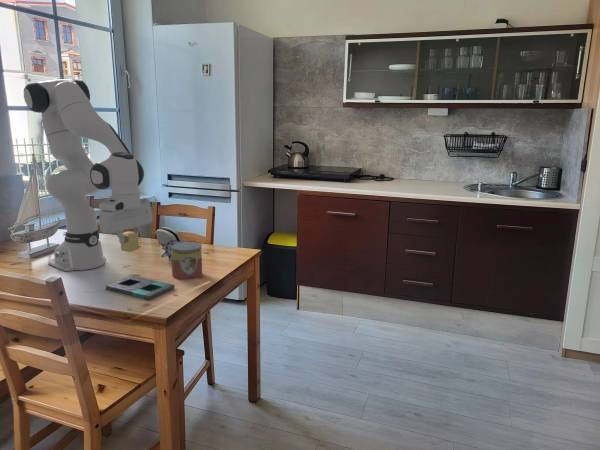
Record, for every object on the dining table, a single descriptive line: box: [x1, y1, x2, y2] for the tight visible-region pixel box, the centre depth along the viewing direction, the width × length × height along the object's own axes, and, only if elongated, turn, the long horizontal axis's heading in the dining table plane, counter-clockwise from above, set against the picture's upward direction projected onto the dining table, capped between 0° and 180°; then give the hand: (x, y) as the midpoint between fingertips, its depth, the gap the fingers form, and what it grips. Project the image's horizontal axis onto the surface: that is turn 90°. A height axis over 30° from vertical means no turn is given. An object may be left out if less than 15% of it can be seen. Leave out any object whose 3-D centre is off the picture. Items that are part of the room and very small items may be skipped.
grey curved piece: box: [154, 226, 183, 246], centre depth 216 cm, size 17×5×10 cm, turn 49°
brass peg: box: [120, 230, 140, 253], centre depth 158 cm, size 4×4×6 cm
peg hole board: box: [105, 275, 175, 302], centre depth 161 cm, size 20×12×2 cm, turn 63°
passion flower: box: [160, 237, 185, 263], centre depth 195 cm, size 11×11×12 cm
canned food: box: [171, 241, 203, 281], centre depth 175 cm, size 11×11×12 cm
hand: (129, 241), depth 158 cm, fingers closed on brass peg, 4 cm apart
